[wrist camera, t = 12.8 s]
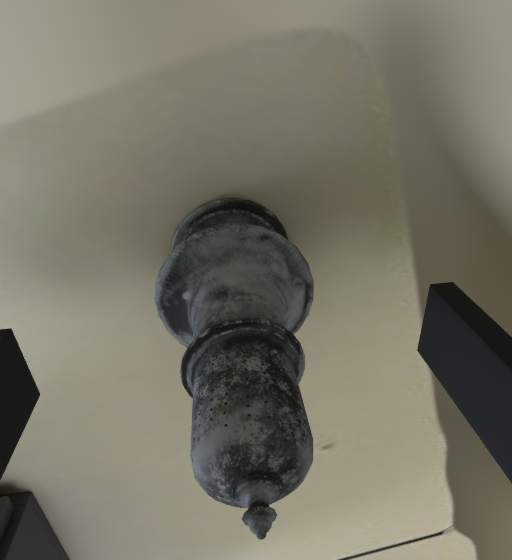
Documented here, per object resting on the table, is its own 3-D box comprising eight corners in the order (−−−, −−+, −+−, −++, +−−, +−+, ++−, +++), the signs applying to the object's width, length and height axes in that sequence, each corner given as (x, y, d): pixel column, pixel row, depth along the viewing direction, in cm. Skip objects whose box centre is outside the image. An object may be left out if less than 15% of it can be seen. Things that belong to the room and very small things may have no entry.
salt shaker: (321, 256, 18) (465, 523, 8) (228, 330, 20) (250, 633, 10) (234, 161, 16) (282, 375, 6) (135, 254, 18) (30, 555, 7)
